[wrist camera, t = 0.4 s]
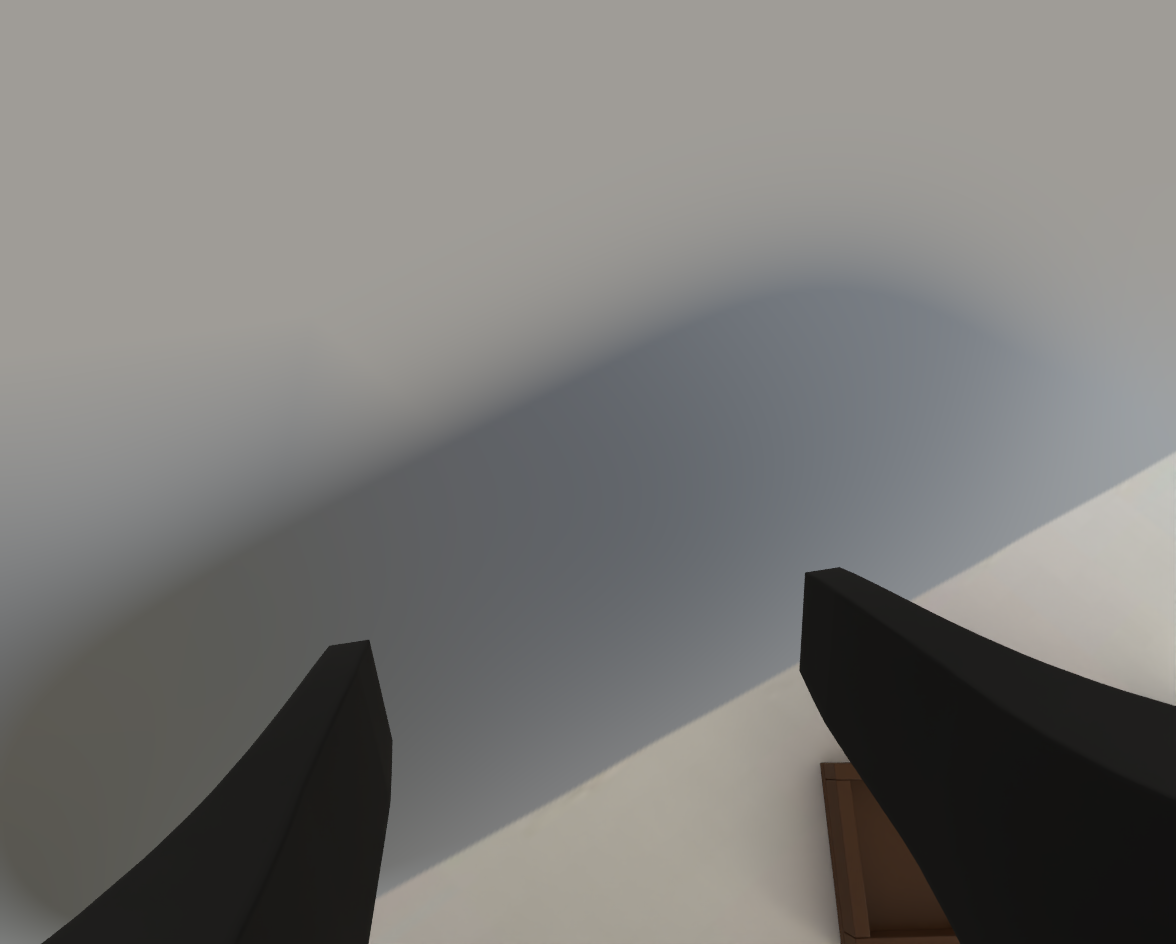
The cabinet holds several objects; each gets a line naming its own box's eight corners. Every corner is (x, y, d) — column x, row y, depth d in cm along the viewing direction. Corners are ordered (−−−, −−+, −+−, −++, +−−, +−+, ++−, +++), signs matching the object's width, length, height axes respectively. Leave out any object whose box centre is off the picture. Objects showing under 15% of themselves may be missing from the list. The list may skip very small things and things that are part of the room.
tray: (1281, 934, 38) (1319, 943, 36) (841, 947, 37) (857, 958, 35) (1227, 757, 41) (1260, 757, 40) (819, 762, 40) (833, 762, 38)
